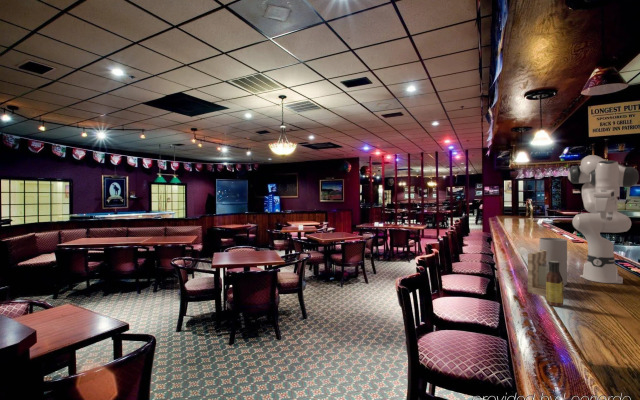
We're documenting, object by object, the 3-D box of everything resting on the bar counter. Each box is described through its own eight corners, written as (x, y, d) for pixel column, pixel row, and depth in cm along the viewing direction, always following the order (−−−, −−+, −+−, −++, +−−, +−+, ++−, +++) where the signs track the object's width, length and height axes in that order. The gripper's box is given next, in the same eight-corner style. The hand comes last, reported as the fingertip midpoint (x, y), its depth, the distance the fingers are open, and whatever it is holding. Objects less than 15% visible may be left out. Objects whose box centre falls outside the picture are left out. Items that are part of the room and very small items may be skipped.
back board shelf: (542, 286, 171) (542, 249, 171) (564, 290, 163) (564, 252, 163) (527, 292, 161) (527, 253, 161) (550, 297, 153) (550, 256, 152)
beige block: (542, 283, 166) (542, 261, 166) (550, 284, 164) (550, 263, 163) (538, 284, 164) (538, 263, 163) (546, 286, 161) (546, 264, 161)
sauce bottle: (566, 307, 139) (566, 263, 139) (550, 306, 140) (550, 262, 140) (558, 302, 146) (558, 260, 145) (543, 301, 147) (543, 259, 147)
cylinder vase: (543, 284, 174) (543, 240, 173) (537, 279, 185) (537, 237, 185) (570, 287, 169) (570, 241, 169) (562, 281, 181) (562, 238, 180)
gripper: (605, 193, 163) (604, 219, 163) (592, 193, 151) (592, 221, 152) (621, 193, 158) (621, 220, 158) (609, 193, 146) (609, 222, 146)
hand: (606, 221), depth 155 cm, fingers open, 8 cm apart
